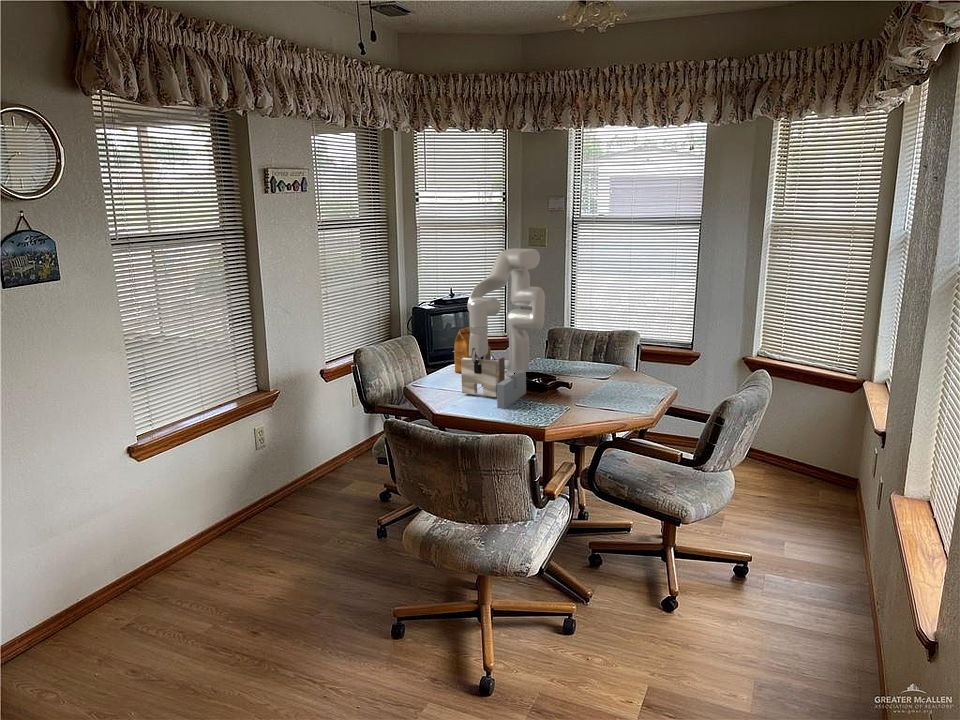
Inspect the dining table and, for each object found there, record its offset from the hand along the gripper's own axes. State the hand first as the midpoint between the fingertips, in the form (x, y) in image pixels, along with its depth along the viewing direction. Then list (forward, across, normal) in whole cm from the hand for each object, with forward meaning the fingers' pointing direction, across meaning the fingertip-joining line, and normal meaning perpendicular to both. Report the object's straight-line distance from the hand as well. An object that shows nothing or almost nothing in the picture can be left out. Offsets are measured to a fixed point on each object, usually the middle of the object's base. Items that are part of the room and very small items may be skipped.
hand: (479, 372), depth 286 cm
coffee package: (+11, -37, -24) cm, 45 cm away
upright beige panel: (+10, 0, 0) cm, 10 cm away
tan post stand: (+11, -16, -1) cm, 19 cm away
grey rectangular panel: (+11, 0, +15) cm, 18 cm away
